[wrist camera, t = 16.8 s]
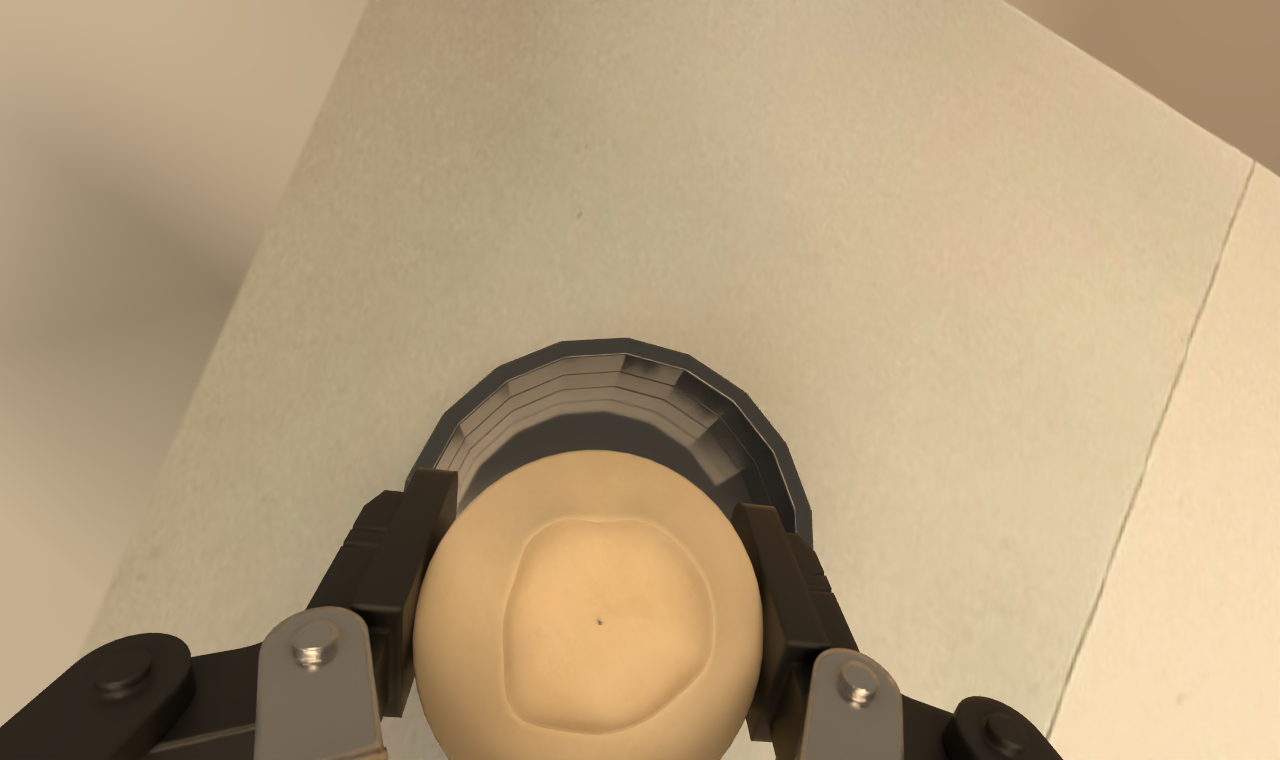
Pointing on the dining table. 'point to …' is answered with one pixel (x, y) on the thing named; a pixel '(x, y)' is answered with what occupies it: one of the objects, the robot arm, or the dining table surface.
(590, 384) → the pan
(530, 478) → the candle
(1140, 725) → the dining table surface
